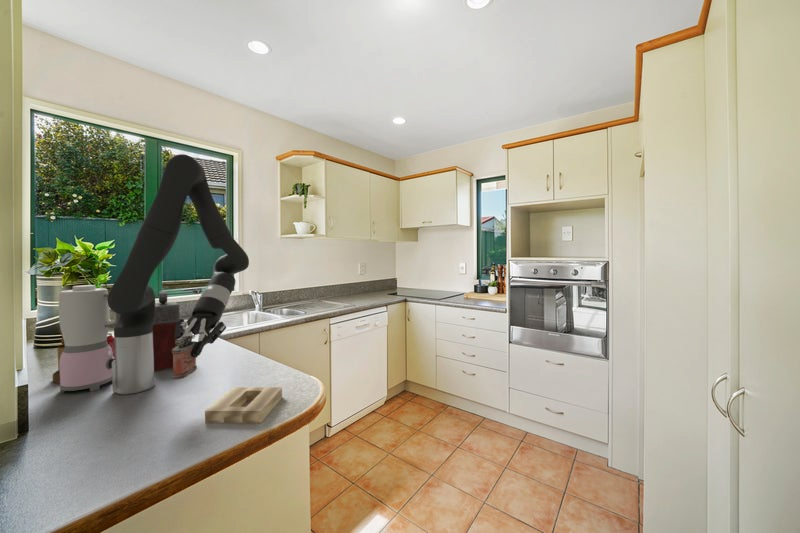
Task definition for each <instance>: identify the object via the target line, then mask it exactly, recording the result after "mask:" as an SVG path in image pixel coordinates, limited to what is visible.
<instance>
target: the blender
mask: <svg viewBox="0 0 800 533" xmlns="http://www.w3.org/2000/svg"><path fill="white" fill-rule="evenodd" d="M108 290H109V289H107V288H102V287H101V288H100V287H99V288H96V285H95V284H84V285H83V284H82V285H73V286H72V289H68V290H67V289H65V290H62V291H60V292H59V293H58V319H59V320H58V322H59V328H61V332H62V335H61V337H62V336H63V339H64V343H65V348H64V351H63V353H62V354H61V357H60V360H59V368H60V382H59V383H60V384H59V390H60V393H61V394H63V393H65V392H73V391H79V390H80V391H81V390H86V389H89V392H94V391H98V390H100V386H102V385H105V384H107V383H109V382H111V383H113V382H112V361H114V360H115V359H113V352H112V349H111V347H110V346H109V345H108V343H107V333H109V328H110V327H111V328H112V327H115V326H116V325H117V323H118V322H119V319H120V314H118V313H115V312H113V315H114V317H113V318H114V319H113V320H110V319H111V317H110V315H111V313H110V308H109V306H108V302H107V297H108V294H109V291H108Z"/></svg>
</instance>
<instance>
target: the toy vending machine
mask: <svg viewBox="0 0 800 533" xmlns="http://www.w3.org/2000/svg"><path fill="white" fill-rule="evenodd" d="M177 321H181V322H185V321H186V320H185V319H184V318H183V317H181V314H180V304H178V303H177V302H175V301H168V292H167V291H166V290H165V291H163V290H162V291H158V302H155V321H154V324H153V354H154V372H158V371H164V370H169V369H173V353H172V349H173V348H175V347H176V346H178V345H176V339H175V338H174V337H175V327H176V322H177ZM184 331H185V330H184Z"/></svg>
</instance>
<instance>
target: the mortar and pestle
mask: <svg viewBox="0 0 800 533" xmlns="http://www.w3.org/2000/svg"><path fill="white" fill-rule="evenodd" d="M58 333H59V334H60V335H61V338H60V343H61V345H59V346H57V367H58V368H57V369H58V370H56V371H55V372H54V373H53V374H52V382H54V383H60V368H59V360H60V357H61V354H62V353H63V351H64V348H65V343H64V339H63V336H62V332H61V328H60V327H59V328H58Z"/></svg>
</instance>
